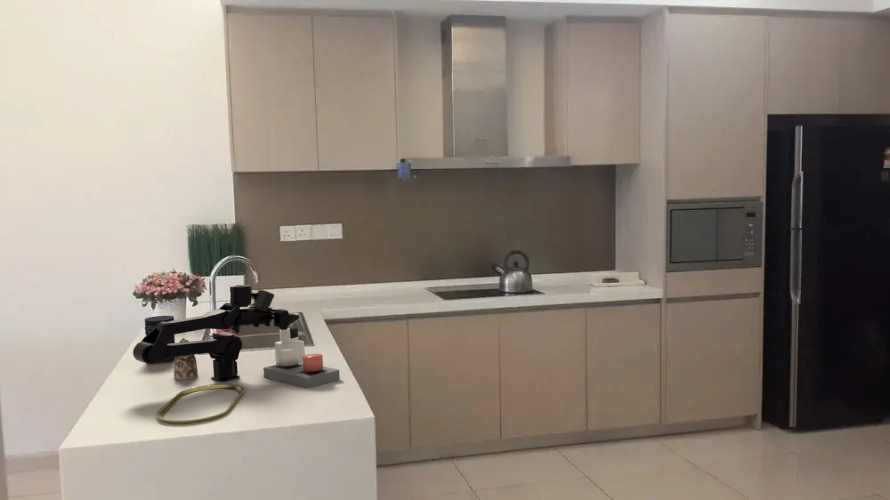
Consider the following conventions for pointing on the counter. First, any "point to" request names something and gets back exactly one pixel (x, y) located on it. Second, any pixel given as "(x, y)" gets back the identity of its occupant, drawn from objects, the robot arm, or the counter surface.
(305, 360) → the red button
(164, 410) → the brass oval bangle
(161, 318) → the storage jar
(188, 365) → the figurine
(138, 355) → the robot arm
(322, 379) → the grey holder tray
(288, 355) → the white button
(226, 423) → the counter surface
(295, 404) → the counter surface
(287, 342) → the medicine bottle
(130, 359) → the counter surface
